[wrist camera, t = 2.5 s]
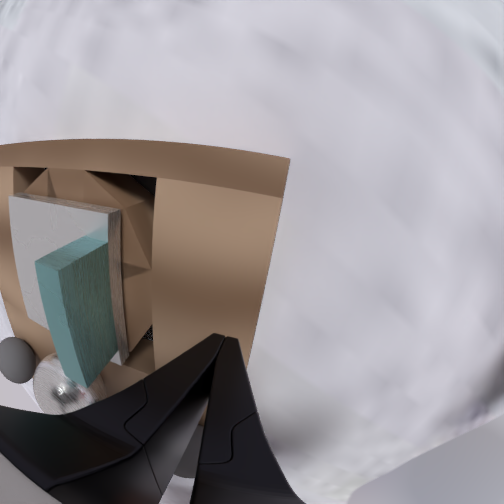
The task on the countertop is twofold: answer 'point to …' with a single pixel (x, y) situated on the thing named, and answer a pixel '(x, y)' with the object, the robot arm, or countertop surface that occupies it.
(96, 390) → the ball
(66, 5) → the countertop surface
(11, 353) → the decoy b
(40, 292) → the cover
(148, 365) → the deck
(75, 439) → the robot arm
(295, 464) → the countertop surface
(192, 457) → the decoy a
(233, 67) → the countertop surface
